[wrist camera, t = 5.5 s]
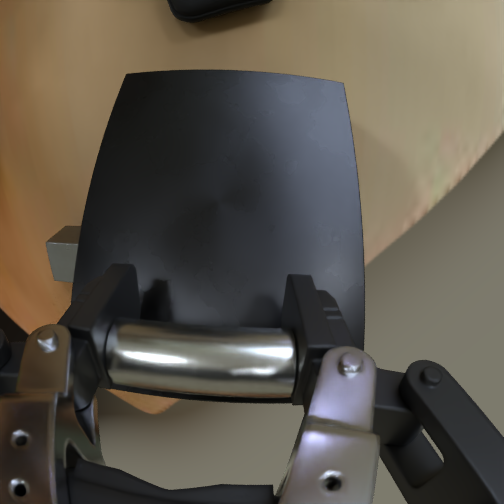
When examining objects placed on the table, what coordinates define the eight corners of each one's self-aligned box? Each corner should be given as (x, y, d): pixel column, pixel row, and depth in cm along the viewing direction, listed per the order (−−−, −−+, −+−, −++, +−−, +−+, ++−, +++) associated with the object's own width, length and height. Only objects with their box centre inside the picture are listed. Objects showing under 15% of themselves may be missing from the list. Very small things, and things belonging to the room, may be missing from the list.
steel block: (72, 261, 31) (54, 280, 27) (65, 225, 29) (45, 242, 25) (104, 263, 31) (88, 284, 27) (98, 226, 29) (80, 244, 25)
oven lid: (354, 395, 12) (418, 428, 7) (76, 377, 12) (4, 396, 6) (340, 91, 16) (368, 25, 11) (129, 82, 15) (106, 16, 10)
